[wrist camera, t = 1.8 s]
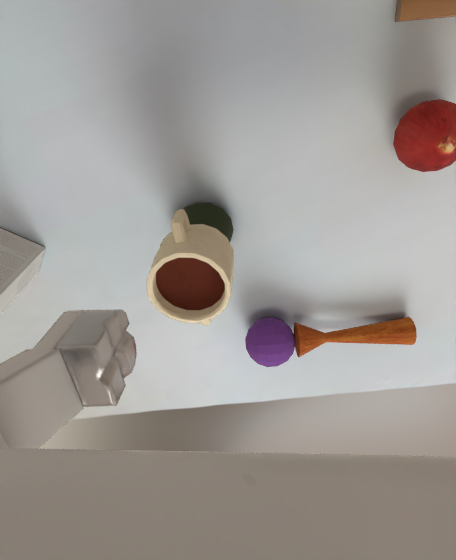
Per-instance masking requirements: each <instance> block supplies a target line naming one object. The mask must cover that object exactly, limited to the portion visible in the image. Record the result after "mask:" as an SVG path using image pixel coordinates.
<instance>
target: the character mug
mask: <svg viewBox="0 0 456 560" xmlns="http://www.w3.org/2000/svg"><path fill="white" fill-rule="evenodd" d="M171 231H172V232H171V233H169V234H168V235H167V236H166V237H165V238H164V239H163V241H162V243H161V245H160V249H159V250H158V252H157V254H156V256H155V258H154V261H153V264H152V267H151V270H150V273H149V276H148V278H147V293H148V297H149V298H150V300H151V302H152V303H153V305H154V306H155V307H156V308H157V309H158V310H159V311H160V312H162V313H163V314H165V315H166V316H168V317H169V318H172V319H175V320H178V321H181V322H184V323H201V322H202V324H203V325H206V326H207V325H208V324H210V322H211V319H213V318H215V317H216V316H217V315H218V314H220V313H221V312H222V311H223V310H224V309H225V307H226V305H227V303H228V301H229V299H230V297H231V290H232V278H233V267H234V255H233V248H232V246H231V244H230V241H231V237H232V233H233V226H232V222H231V218H230V217H229V216H228V214H227V213H226V212H225V211H224V210H223V209H222V208H220V207H218V206H216V205H213V204H211V203H195V204H193V205H190V206H187V207H185V209H184V210H182V209H179V210H177V211H176V212H175V214H174V216H173V218H172V220H171Z"/></svg>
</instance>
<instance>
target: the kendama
mask: <svg viewBox="0 0 456 560" xmlns="http://www.w3.org/2000/svg"><path fill="white" fill-rule="evenodd" d="M325 342H341V343H374V344H407V345H412V344H414V343H415V342H416V328H415V325H414V322H413V321H412V319H411V318H409V317H406V318H401V319H396V320H391V321H386V322H380V323H375V324H370V325H365V326H359V327H354V328H349V329H344V330H339V331H333V332H328V333H323V332H320V331H318V330H315V329H312V328H309V327H306V326H304V325H301V324H298V323H294V334H293V332H292V330H291V328H290V326H288V325H287V324H286V323H285V322H284V321H282V320H280V319H277V318H274V317H270V318H262V319H260V320H258V321H257V322H255V323H254V324H253V325H252V326H251V327H250V329H249V330H248V333H247V336H246V349H247V351H248V353H249V355H250V357H251V358H252V359H253V360H254V361H256V362H257V363H258V364H260V365H263V366H266V367H272V366H279V365H281V364H282V363H284V362H286V361H287V360H288V359H289V358H290V357H291V355H292V354H293V351H294V347H295V348H296V352H297V356H298V357H300V356H302V355H304V354H305V353H307V352H309V351H311V350H313V349H314V348H316V347H318V346H320V345H321V344H323V343H325Z"/></svg>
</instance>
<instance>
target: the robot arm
mask: <svg viewBox="0 0 456 560" xmlns="http://www.w3.org/2000/svg"><path fill="white" fill-rule="evenodd" d="M128 325H129V321H128V318H127V315H126V312H124V311H123V310H86V311H85V310H75V311H67V312H64V313H63V314H62V315H61V316H60V317H59V319H58V320H57V321H56V322H55V323H54V325H53V326H52V327H51V328H50V329H49V331H48V332H47V333H46V334H45V335H44V336H43V338H42V339H41V340H40V341H39V342H38V344H37V345H36V346H35V347H34V348H33V349H31V350H25V351H23V352H21V353H20V354H18V355H16V356H14V357H12V358H10V359H8V360H7V361H5V362H3V363H1V364H0V560H456V457H443V456H442V457H441V456H397V455H395V456H394V455H350V454H294V453H293V454H292V453H240V452H239V453H237V452H235V453H234V452H185V451H182V452H181V451H132V450H78V449H76V450H75V449H39V448H40V447H41V446H42V445H43V444H44V443H45V442H46V441H48V440H49V439H50V438H51V437H52V436H53V435H54V434H55V433H56V432H58V431H59V430H60V429H61V428H62V427H63V426H64V425H65V424H67V423H68V422H69V421H70V420H71V419H72V418H73V417H74V416H76V415H77V414H78V413H79V412H80V411H81V410H82V409H83V407H89V406H116V405H117V403H118V401H119V399H120V396H121V394H122V392H123V390H124V388H125V386H126V385H125V382H124V378H125V377H126V376H128V375H129V374H130V373H131V372H132V370H133V368H134V365H135V361H136V344H135V341H134V337H133V336H132V335H131V334H129V333H128V332H127V331H126V329H127V327H128Z"/></svg>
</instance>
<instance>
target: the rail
mask: <svg viewBox="0 0 456 560" xmlns="http://www.w3.org/2000/svg"><path fill="white" fill-rule="evenodd" d="M452 16H456V0H398V1H397V9H396V17H395V22H399V21H410V20H420V19H431V18H442V17H452Z"/></svg>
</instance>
